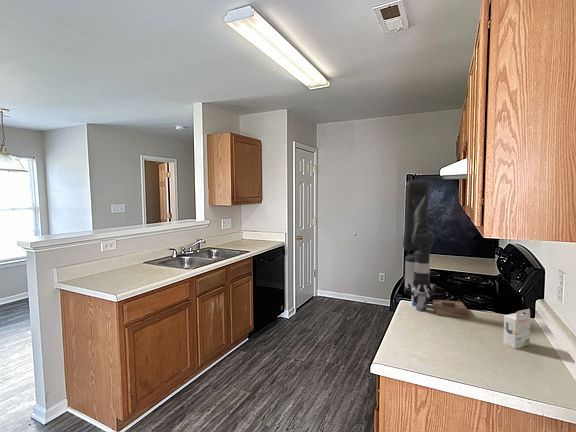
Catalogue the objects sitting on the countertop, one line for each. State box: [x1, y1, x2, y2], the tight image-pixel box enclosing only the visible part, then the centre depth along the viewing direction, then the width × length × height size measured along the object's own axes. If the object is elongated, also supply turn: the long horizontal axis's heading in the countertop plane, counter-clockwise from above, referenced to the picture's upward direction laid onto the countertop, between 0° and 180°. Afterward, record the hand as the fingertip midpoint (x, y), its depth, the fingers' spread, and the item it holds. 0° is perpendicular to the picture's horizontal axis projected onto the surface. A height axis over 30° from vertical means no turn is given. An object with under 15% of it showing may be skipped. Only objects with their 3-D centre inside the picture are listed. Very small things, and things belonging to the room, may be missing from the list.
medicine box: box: [411, 288, 429, 308], centre depth 173 cm, size 8×4×9 cm, turn 73°
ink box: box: [503, 308, 531, 350], centre depth 126 cm, size 9×5×15 cm, turn 111°
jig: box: [431, 299, 470, 319], centre depth 162 cm, size 14×14×4 cm
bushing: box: [415, 291, 427, 312], centre depth 165 cm, size 6×6×10 cm
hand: (421, 303), depth 165 cm, fingers closed on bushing, 4 cm apart
